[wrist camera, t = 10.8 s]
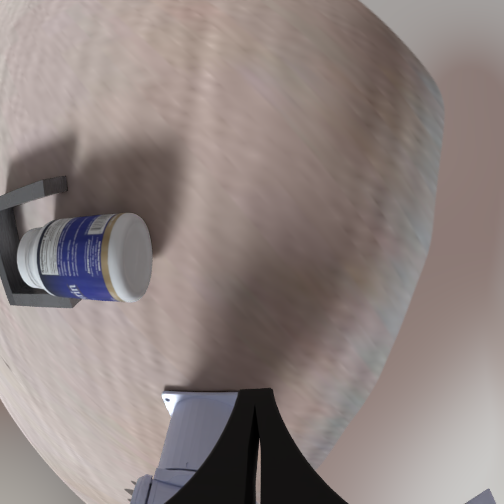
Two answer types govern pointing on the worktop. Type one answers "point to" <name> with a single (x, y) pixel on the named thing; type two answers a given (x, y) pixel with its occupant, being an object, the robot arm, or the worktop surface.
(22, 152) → the worktop surface
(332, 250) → the worktop surface
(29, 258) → the pill bottle
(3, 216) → the metal u-channel bracket
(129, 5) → the worktop surface
